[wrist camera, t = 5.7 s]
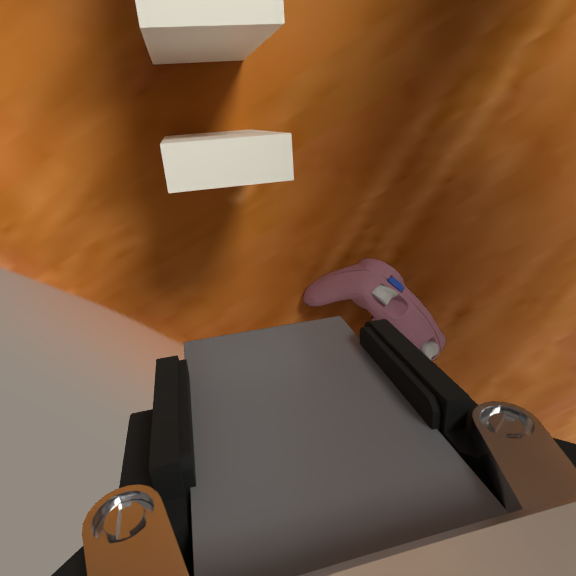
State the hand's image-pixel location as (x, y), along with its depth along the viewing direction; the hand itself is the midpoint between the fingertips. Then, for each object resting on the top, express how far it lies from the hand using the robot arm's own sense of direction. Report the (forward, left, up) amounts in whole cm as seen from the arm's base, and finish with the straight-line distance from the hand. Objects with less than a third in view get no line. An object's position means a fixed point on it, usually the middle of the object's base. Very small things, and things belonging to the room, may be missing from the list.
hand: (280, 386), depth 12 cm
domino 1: (0, -11, -17) cm, 20 cm away
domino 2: (0, -5, -17) cm, 18 cm away
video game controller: (-10, +7, -18) cm, 21 cm away
